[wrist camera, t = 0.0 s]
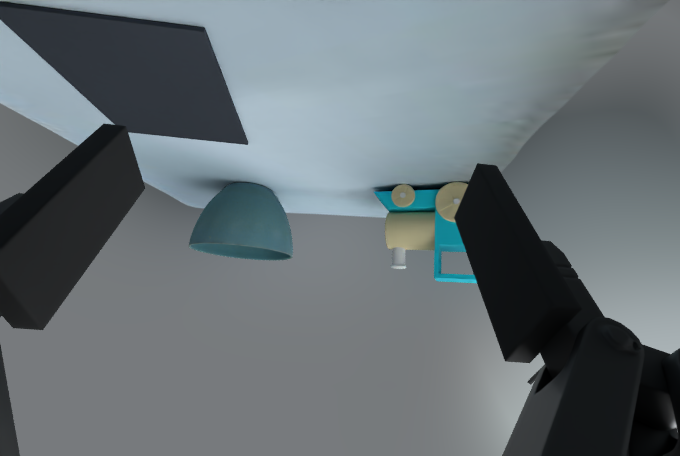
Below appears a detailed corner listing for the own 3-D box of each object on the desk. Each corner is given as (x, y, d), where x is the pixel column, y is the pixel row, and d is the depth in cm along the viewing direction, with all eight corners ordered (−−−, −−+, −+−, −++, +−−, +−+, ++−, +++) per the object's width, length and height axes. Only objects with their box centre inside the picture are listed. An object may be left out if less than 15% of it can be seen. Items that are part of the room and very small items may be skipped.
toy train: (372, 184, 60) (367, 274, 56) (478, 180, 54) (479, 279, 51) (382, 199, 67) (378, 278, 64) (476, 196, 61) (477, 283, 58)
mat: (-16, -1, 26) (-17, 4, 26) (204, 27, 27) (204, 32, 27) (123, 128, 46) (122, 131, 46) (248, 142, 47) (247, 144, 47)
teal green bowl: (180, 169, 59) (167, 241, 57) (286, 173, 57) (277, 248, 55) (224, 201, 77) (216, 257, 74) (306, 205, 75) (300, 262, 72)
